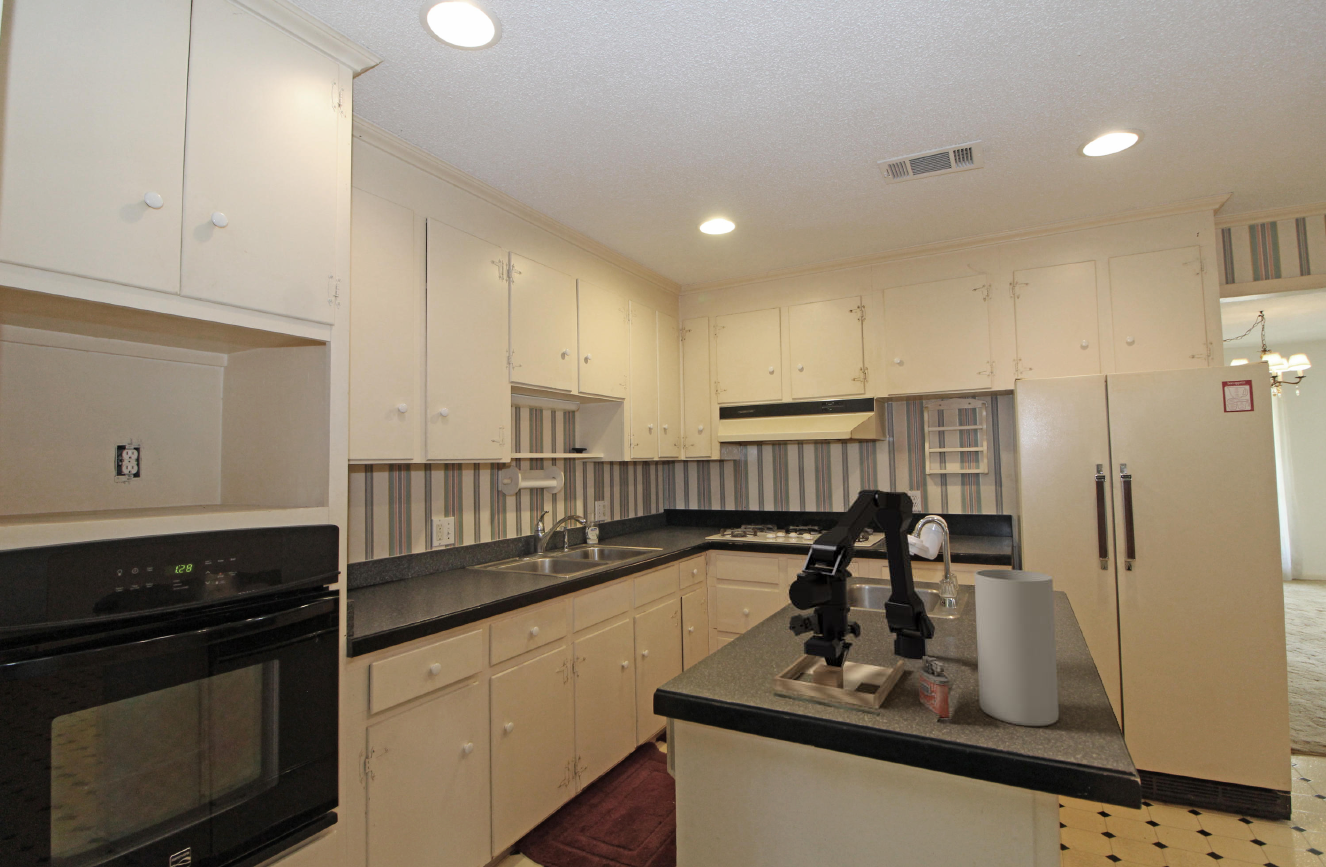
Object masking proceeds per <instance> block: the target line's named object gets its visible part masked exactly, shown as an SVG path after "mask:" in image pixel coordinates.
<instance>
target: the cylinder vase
mask: <svg viewBox="0 0 1326 867" xmlns="http://www.w3.org/2000/svg"><path fill="white" fill-rule="evenodd" d="M973 574H974V592H975V593H974V595H975V597H974V598H975V617H976V618H975V620H976V621H975V623H976V646H977V670H978V671H977V672H978V674H977V675H978V697H979V699H978V700H979V707H980V709H981V710H982V711H983V712H984V713H985V714H986V715H988V716H990V717H992V718H994V719H996V720H999V721H1001V722H1005V723H1009V724H1014V725H1018V726H1025V727H1045V726H1049V725H1053V724H1054V723H1057V721H1058V720H1059V717H1060V716H1059V715H1060V714H1059V713H1060V712H1059V695H1058V694H1059V691H1058V672H1057V652H1056V647H1057V646H1056V630H1055V625H1056V624H1055V605H1054V585H1053V583H1054V582H1053V580H1054V579H1053V576H1051V575H1049V574H1046V573H1041V572H1036V571H1028V570H1019V569H1005V568H1004V569H1003V568H1001V569H997V568H996V569H994V568H990V569H980V570H976V571H974V572H973Z"/></svg>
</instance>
